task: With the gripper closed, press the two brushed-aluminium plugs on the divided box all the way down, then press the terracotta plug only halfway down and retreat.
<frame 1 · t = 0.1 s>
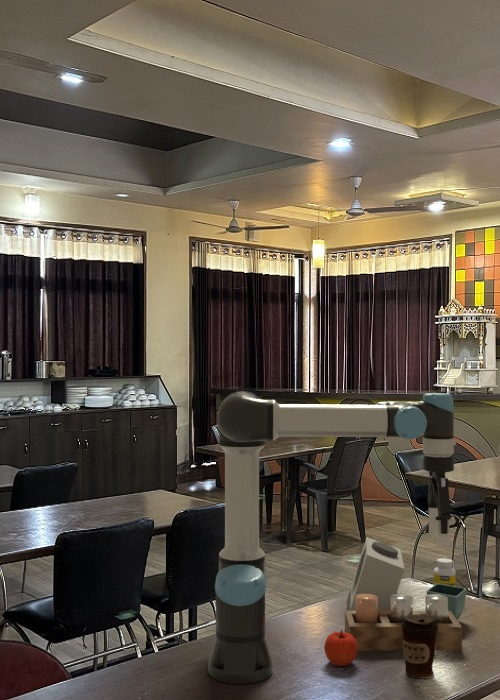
hand: (438, 539, 197), 28 cm above the table, fingers open, 13 cm apart
plug mid: (401, 610, 203), point 8 cm above the table, slide at 0.0 cm
flower pot: (446, 622, 218), on the table
alarm clock: (374, 613, 225), on the table
coffee cup: (419, 674, 183), on the table
apple: (340, 664, 189), on the table
plug terracotta: (366, 610, 203), point 8 cm above the table, slide at 0.0 cm
plug far: (436, 611, 203), point 8 cm above the table, slide at 0.0 cm
divided box: (401, 641, 203), on the table
pill bottle: (444, 599, 238), on the table
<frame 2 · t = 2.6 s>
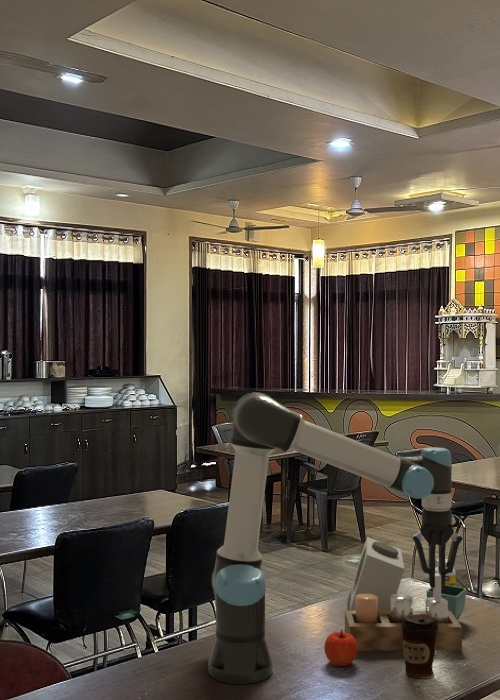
hand: (437, 599, 203), 11 cm above the table, fingers closed
plug far: (436, 614, 203), point 7 cm above the table, slide at -0.8 cm, touching gripper
everything else where it was.
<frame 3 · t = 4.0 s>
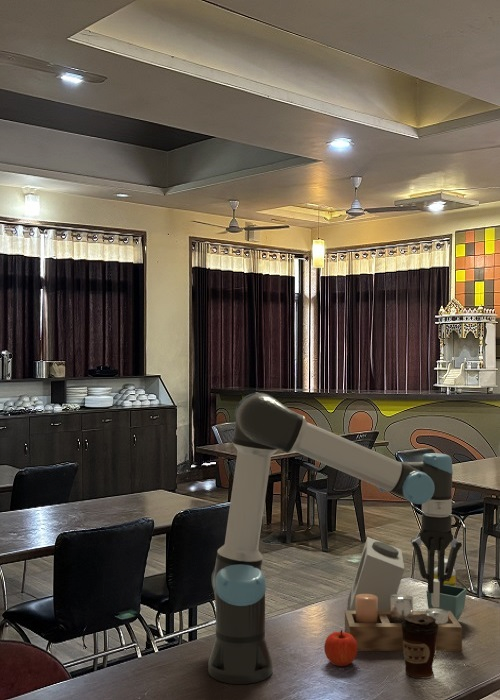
hand: (435, 605, 203), 9 cm above the table, fingers closed
plug far: (436, 625, 203), point 4 cm above the table, slide at -3.7 cm
everything else where it was.
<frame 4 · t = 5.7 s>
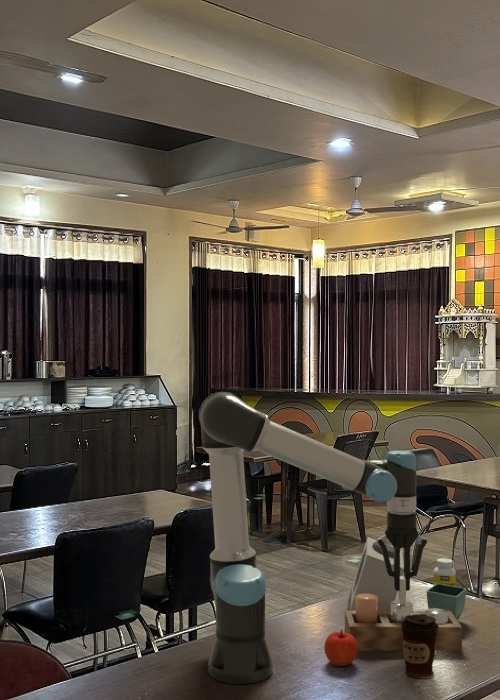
hand: (402, 602, 203), 10 cm above the table, fingers closed
plug mid: (401, 617, 203), point 6 cm above the table, slide at -1.7 cm, touching gripper
everything else where it was.
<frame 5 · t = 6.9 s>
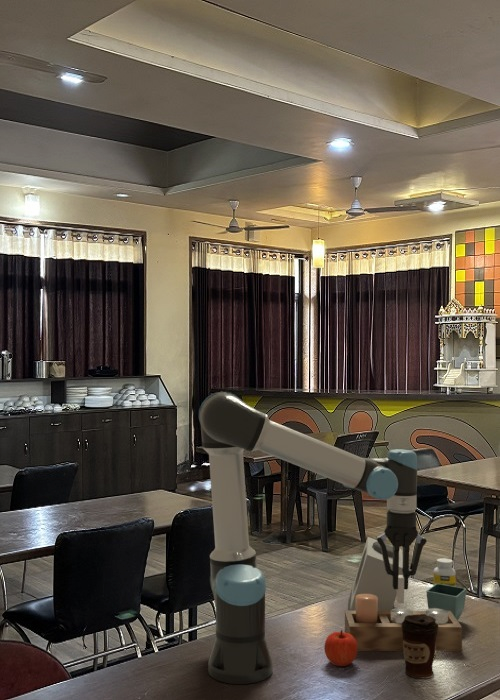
hand: (400, 601, 203), 10 cm above the table, fingers closed
plug mid: (401, 625, 203), point 4 cm above the table, slide at -3.7 cm
everything else where it was.
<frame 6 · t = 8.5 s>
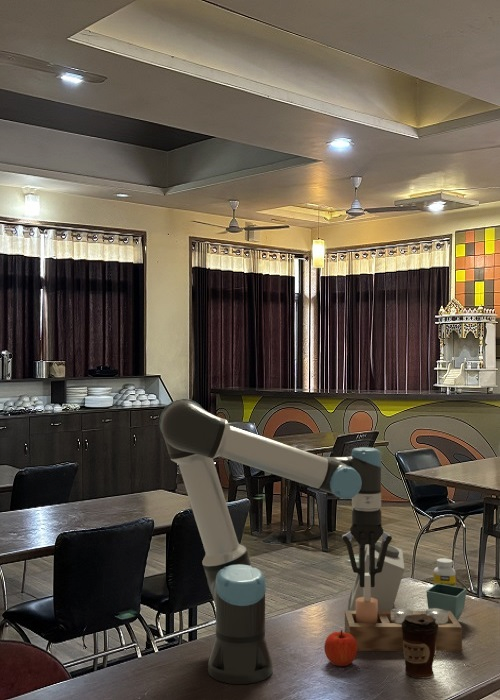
hand: (367, 599, 203), 11 cm above the table, fingers closed
plug terracotta: (366, 613, 203), point 7 cm above the table, slide at -0.9 cm, touching gripper
everything else where it was.
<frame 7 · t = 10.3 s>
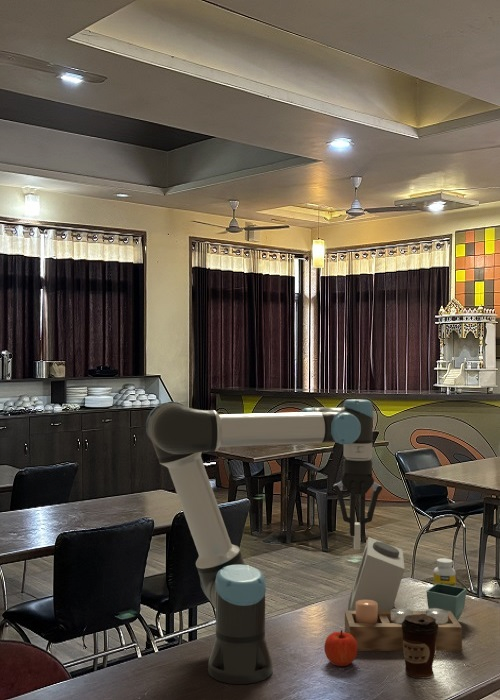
hand: (356, 548, 206), 23 cm above the table, fingers closed
plug terracotta: (366, 616, 203), point 6 cm above the table, slide at -1.6 cm
everything else where it was.
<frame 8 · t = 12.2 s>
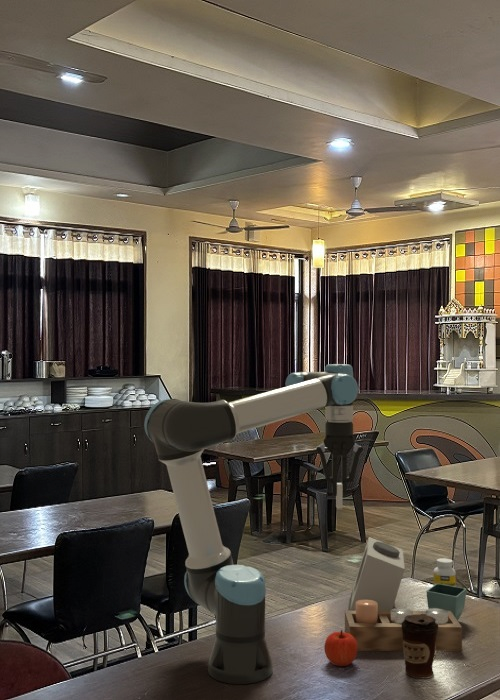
hand: (339, 507, 214), 32 cm above the table, fingers closed
nothing on the table moved.
at the end: plug far slide at -3.7 cm; plug mid slide at -3.7 cm; plug terracotta slide at -1.6 cm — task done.
